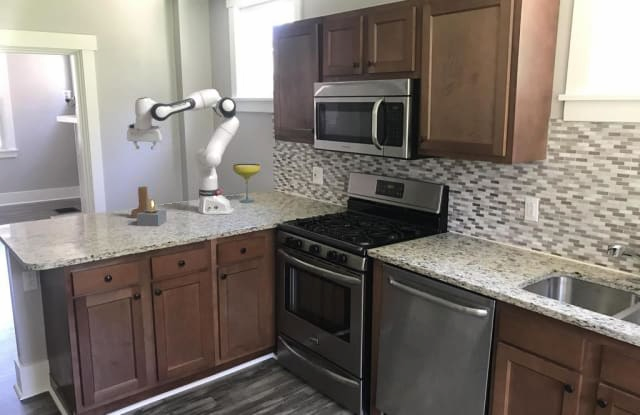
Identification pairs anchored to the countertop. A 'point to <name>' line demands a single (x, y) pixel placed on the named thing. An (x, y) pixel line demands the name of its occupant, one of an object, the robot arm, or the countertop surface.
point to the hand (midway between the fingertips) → (145, 149)
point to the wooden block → (141, 201)
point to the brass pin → (151, 205)
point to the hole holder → (151, 218)
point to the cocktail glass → (246, 175)
